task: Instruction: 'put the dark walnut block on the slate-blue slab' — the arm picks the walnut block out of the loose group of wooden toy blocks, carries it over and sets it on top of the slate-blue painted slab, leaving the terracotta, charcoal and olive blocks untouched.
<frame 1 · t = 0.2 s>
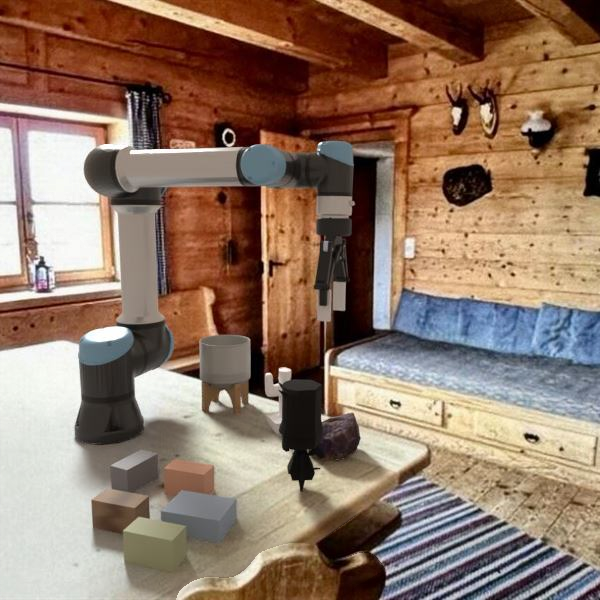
hand: (331, 315, 124), 28 cm above the table, fingers open, 13 cm apart
toy: (301, 489, 104), on the table
rock: (338, 457, 119), on the table
slate slab: (199, 527, 92), on the table
planter: (225, 407, 148), on the table
figurine: (284, 432, 131), on the table
terracotta block: (189, 492, 103), on the table
olive block: (155, 559, 83), on the table
walnut block: (121, 526, 92), on the table
charcoal block: (135, 484, 106), on the table
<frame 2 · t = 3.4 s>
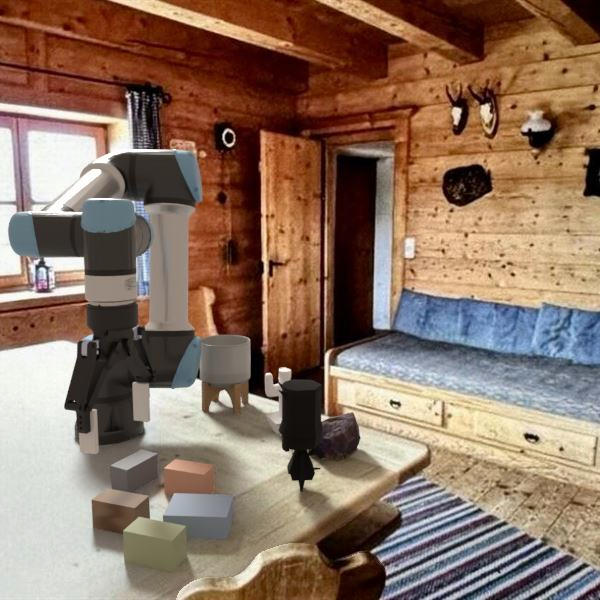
hand: (117, 435, 89), 15 cm above the table, fingers open, 13 cm apart
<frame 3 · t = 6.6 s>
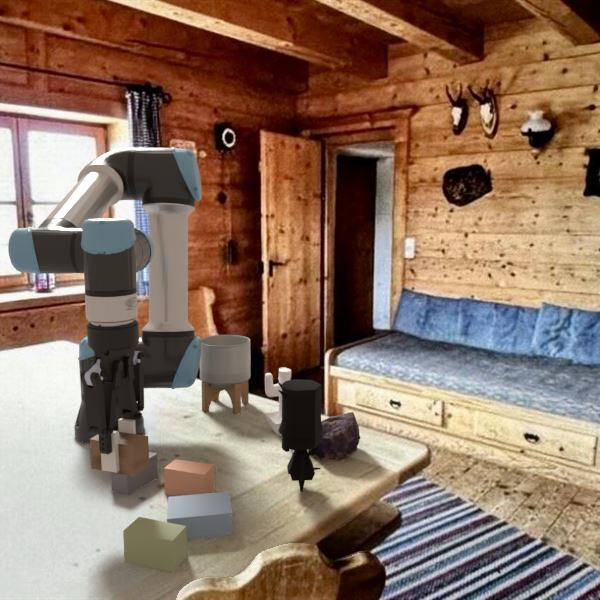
hand: (119, 463, 90), 10 cm above the table, fingers closed on walnut block, 4 cm apart
walnut block: (120, 467, 90), point 10 cm above the table, touching gripper
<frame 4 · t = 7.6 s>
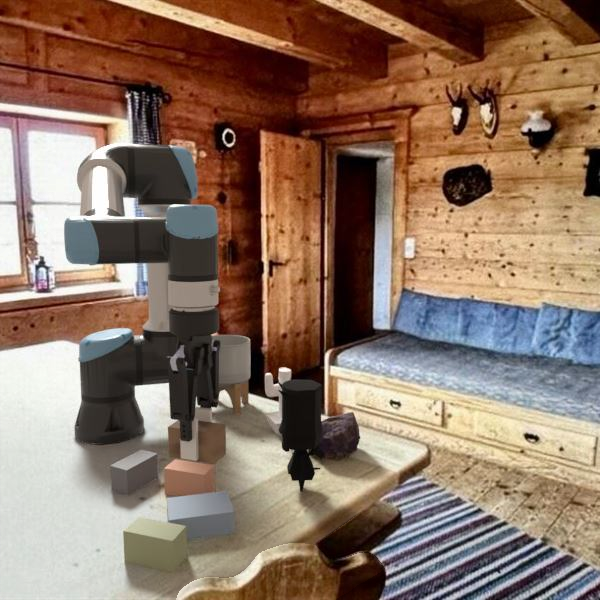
hand: (196, 452, 90), 13 cm above the table, fingers closed on walnut block, 4 cm apart
walnut block: (197, 455, 90), point 12 cm above the table, touching gripper
when the fingers open (5 cm above the table, at t = 9.2 s): walnut block stays where it is, resting on slate slab.
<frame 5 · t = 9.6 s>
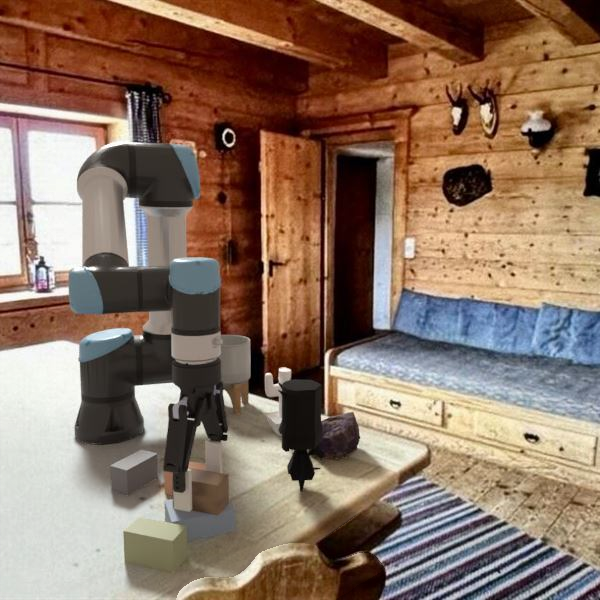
hand: (199, 492, 91), 6 cm above the table, fingers open, 10 cm apart
slate slab: (199, 527, 92), on the table, touching walnut block
walnut block: (201, 505, 91), point 4 cm above the table, touching slate slab
everything else where it was.
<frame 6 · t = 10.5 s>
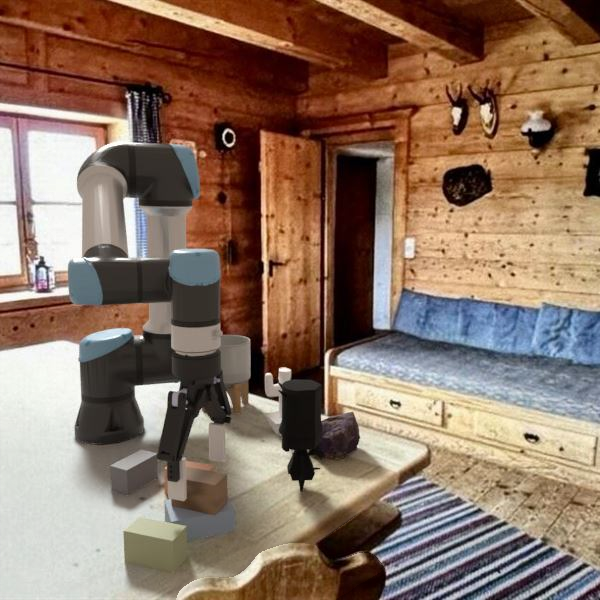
hand: (198, 478, 91), 8 cm above the table, fingers open, 13 cm apart
slate slab: (199, 527, 92), on the table
walnut block: (199, 504, 91), point 4 cm above the table
everything else where it was.
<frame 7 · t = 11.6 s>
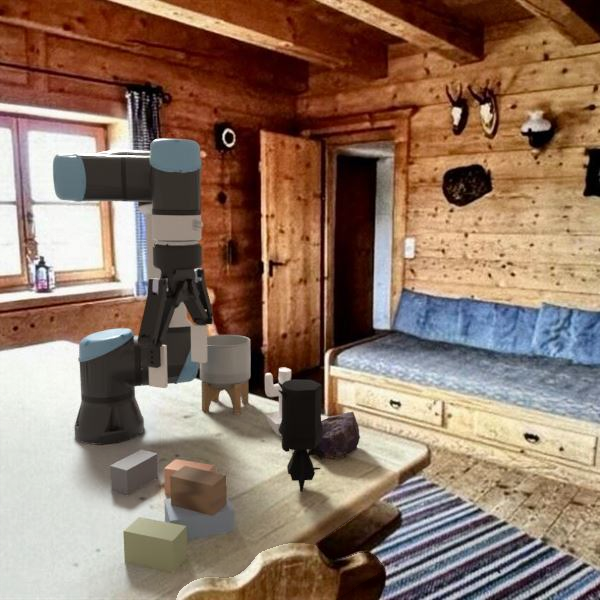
hand: (180, 373, 92), 24 cm above the table, fingers open, 13 cm apart
nothing on the table moved.
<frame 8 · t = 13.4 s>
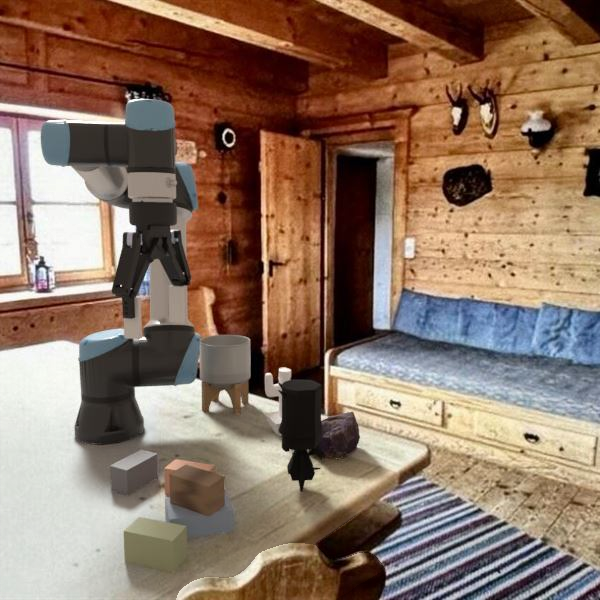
hand: (156, 329, 95), 31 cm above the table, fingers open, 13 cm apart
nothing on the table moved.
at the end: walnut block inside the target area on the slate slab (0.3 cm from its centre), point 4.1 cm above the slate slab's base; terracotta block moved 0.2 cm from its start; olive block moved 0.2 cm from its start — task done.
